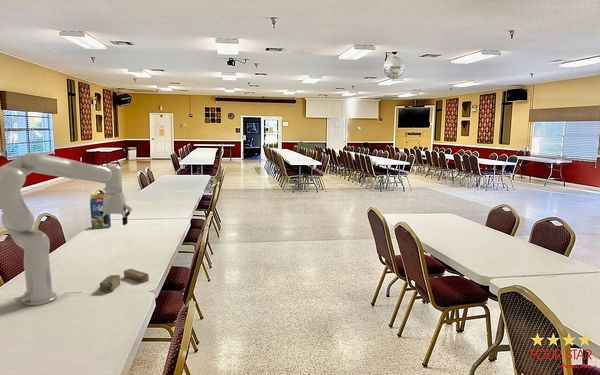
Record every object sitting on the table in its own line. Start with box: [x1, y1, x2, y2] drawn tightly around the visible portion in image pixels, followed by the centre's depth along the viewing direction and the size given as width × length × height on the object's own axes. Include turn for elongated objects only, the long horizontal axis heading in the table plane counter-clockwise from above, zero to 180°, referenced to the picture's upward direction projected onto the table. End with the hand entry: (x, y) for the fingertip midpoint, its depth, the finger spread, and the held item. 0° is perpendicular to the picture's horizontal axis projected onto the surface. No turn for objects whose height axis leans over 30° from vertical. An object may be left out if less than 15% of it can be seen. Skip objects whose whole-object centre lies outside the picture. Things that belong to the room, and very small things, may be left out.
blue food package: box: [89, 194, 112, 229], centre depth 312 cm, size 6×12×25 cm, turn 104°
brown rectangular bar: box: [123, 268, 150, 284], centre depth 211 cm, size 4×14×4 cm, turn 57°
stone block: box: [99, 274, 121, 294], centre depth 199 cm, size 6×12×5 cm, turn 3°
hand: (115, 224), depth 210 cm, fingers open, 9 cm apart
